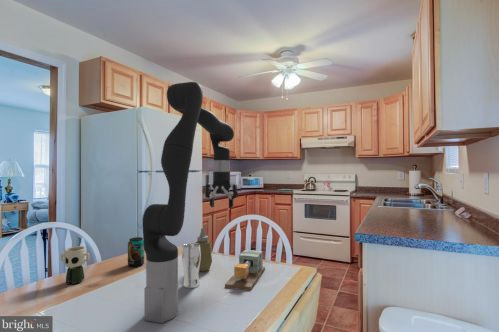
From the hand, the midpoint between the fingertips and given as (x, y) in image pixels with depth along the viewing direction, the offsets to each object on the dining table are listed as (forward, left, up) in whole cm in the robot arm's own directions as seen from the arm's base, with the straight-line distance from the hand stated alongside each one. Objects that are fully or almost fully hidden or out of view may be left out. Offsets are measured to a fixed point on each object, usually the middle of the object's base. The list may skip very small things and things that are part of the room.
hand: (221, 207), depth 126 cm
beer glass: (-20, +4, -27) cm, 34 cm away
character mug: (-30, +49, -27) cm, 64 cm away
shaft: (-5, -14, -24) cm, 28 cm away
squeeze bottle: (-4, +7, -27) cm, 28 cm away
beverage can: (-7, +39, -27) cm, 48 cm away
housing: (-7, -14, -27) cm, 31 cm away
